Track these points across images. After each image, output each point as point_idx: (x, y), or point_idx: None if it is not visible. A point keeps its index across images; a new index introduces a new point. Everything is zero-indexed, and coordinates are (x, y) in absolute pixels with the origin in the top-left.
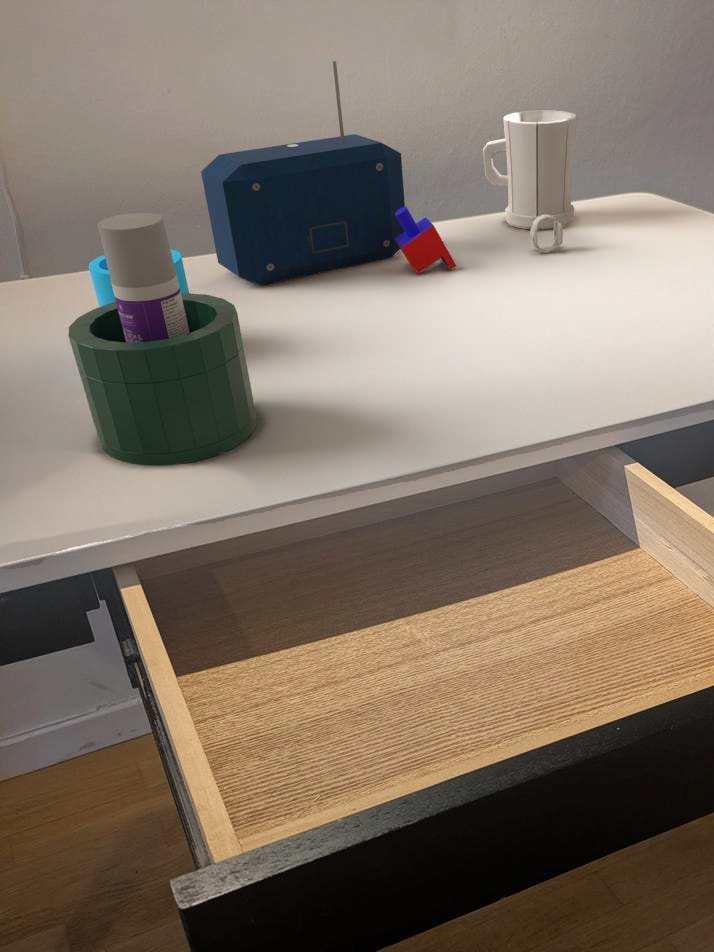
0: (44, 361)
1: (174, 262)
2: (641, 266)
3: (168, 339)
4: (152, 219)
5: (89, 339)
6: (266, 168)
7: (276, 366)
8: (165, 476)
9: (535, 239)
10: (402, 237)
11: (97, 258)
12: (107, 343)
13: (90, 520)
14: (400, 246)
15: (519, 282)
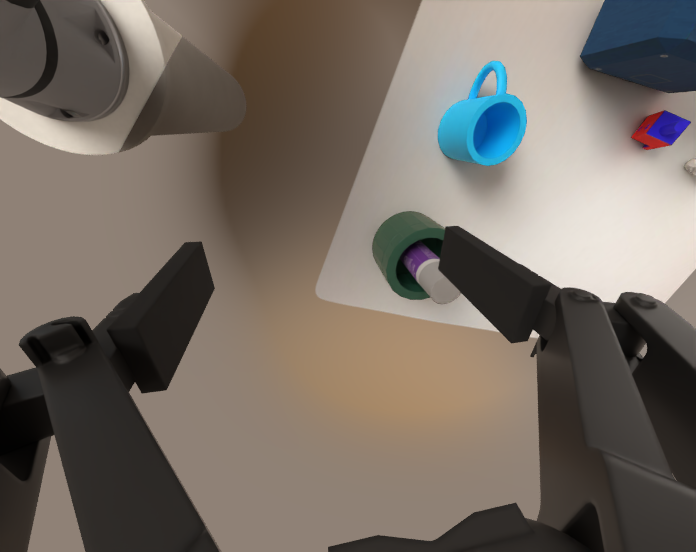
0: (411, 90)
1: (504, 159)
2: (664, 225)
3: (413, 293)
4: (454, 295)
5: (391, 271)
6: (692, 51)
7: (477, 209)
8: (378, 276)
9: (691, 166)
10: (663, 120)
11: (488, 99)
12: (394, 280)
13: (342, 289)
14: (651, 124)
15: (627, 198)
